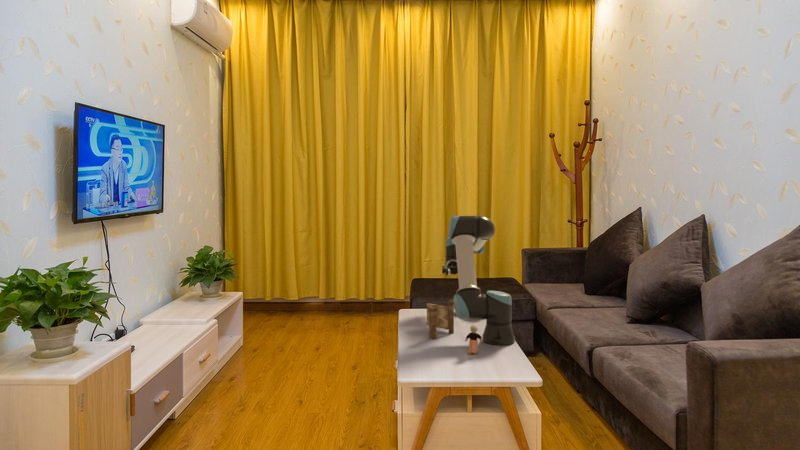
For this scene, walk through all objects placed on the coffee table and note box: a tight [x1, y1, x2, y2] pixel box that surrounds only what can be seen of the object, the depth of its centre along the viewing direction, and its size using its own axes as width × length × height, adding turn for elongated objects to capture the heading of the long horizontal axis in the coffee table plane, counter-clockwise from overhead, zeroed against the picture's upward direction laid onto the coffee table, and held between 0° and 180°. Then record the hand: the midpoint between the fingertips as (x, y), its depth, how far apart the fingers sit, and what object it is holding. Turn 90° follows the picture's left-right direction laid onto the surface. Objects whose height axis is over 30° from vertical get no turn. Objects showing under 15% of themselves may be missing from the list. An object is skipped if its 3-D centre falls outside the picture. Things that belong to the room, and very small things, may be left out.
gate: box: [425, 303, 449, 331], centre depth 265 cm, size 14×2×11 cm, turn 49°
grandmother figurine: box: [464, 324, 484, 355], centre depth 226 cm, size 8×4×13 cm, turn 89°
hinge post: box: [447, 298, 455, 335], centre depth 259 cm, size 3×3×17 cm
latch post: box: [428, 307, 438, 340], centre depth 249 cm, size 3×3×15 cm
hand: (457, 273), depth 270 cm, fingers open, 7 cm apart
